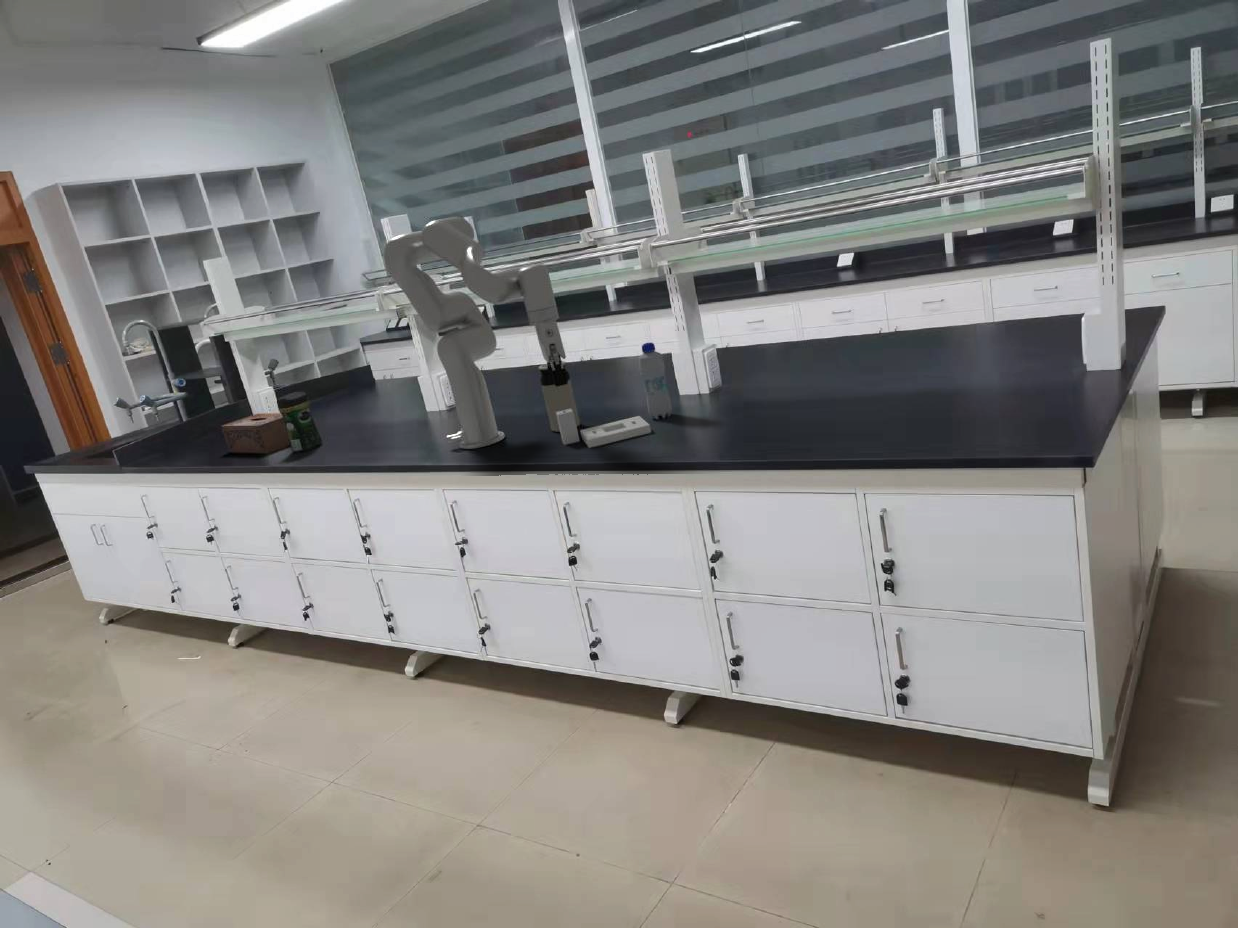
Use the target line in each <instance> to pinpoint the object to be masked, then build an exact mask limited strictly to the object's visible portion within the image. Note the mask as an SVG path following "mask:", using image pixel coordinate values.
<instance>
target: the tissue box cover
mask: <svg viewBox="0 0 1238 928" xmlns="http://www.w3.org/2000/svg"><path fill="white" fill-rule="evenodd" d="M220 427H221V431H222V434H223V436H224V439H225V442H226V445H227V447H228V451H229V453H241V454H242V453H243V454H244V453H245V454H247V453H249V454H270V452H271V453H273V452H276V451H279V450H282V449H283V448H286V447H290V442H289V437H288V433H287V429H286V425H285V421H284V418H283V416H282V414H281V413H280V412H274V413H273V412H269V413H268V412H267V413H262V412H261V413H256V414H252V415H250V416H246V417H244V418H241V419H237V420H235V421H232V422H229V423H225V424H222V425H221V426H220ZM275 450H276V451H275Z"/></svg>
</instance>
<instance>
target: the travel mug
mask: <svg viewBox="0 0 1238 928" xmlns="http://www.w3.org/2000/svg"><path fill="white" fill-rule="evenodd" d="M562 364H563V367H564V369H565V373H566V377H567V381H568V384H566V385H562V386H558V387H556V386H555V383H554V381H551V380H550V377H549V372H548V368H547V366H548V365H547V363H545V364H541V365H540V366H538V368H537V369H538V370H539V371H540V377H539V381H540V385H541V389H542V393H543V397H544V403H545V407H546V412H547V415H548V419H549V424H550V428H551V431H552V432H556V433H560V429H559V424H558V420H557V415H556V412H558V411H562V410H567V409H572V411H573V413H574V418H575V422H576V427H579V426H580V425H581V423H580V418H579V413H578V407H577V405H576V400H575V396H574V395H575V394H574V391H573V386H572V381H571V377H570V376H571V375H570V373H569V371H568V370H567V369H566V361H565V360H562ZM549 366H550V365H549Z"/></svg>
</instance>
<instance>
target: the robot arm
mask: <svg viewBox="0 0 1238 928" xmlns="http://www.w3.org/2000/svg"><path fill="white" fill-rule="evenodd" d="M483 258H484V248H483V245H481V243H479V242H478V241H476V240H475V231H474V228H473V226H472V224H471V223H470V222H469V221H468V220H467V219H465V218H463V217H461V216H453V217H446V218H441V219H436V220H432V221H430V222H429V223H427V224H425V226H424V227H423V228H422V230H418V231H412V232H408V233H403V234H402V233H401V234H399V235H396V236H394V237H392V238H391V239H390V240H388V241H387V243H386V244H385V247H384V250H383V260H384V264H385V268H386V270H387V272H388V274H389V275H390V278H391V279H392V280H393V281H394V283H395V284H396V286H398V287H399V288H400V289H401V291H402V292H403V293H404V295H405V296H406V297H407V299H408V300H409V303H410V304H411V306H412V307H413V308H414V310H415V312H416V313H417V315H418V316H419V318H420V319H421V321H422V322H423V324H424V325H425V327H426V328H427V329H428V330H429V331H430V332H432V333H441V332H447V331H449V330H452V331H449V332H447V333H446V334H444V335H443V336H442V337H441V338H440V339H439V341H438V342H437V348H436V350H437V355H438V358H439V360H440V362H441V364H442V366H443V369H444V370H445V374H446V377H447V380H448V382H449V387H450V390H451V393H452V398H453V401H454V405H455V408H456V412H457V417H458V420H459V423H460V431H458V432H457V433H455V434H450V435H446V439H447V442H448V443H457V442H459V446H460V448H461V449H464V450H470V449H471V450H473V449H479V448H484V447H486V446H491V445H493V444H496V443H498V442H500V441H502V440H503V439H504V438H505V437H506V435H505V433H504V432H503V431H500V430H498V427H497V423H496V419H495V414H494V410H493V407H492V403H491V398H490V393H489V391H488V386H487V383H486V379H485V376H484V374H483V372H482V371H481V369H480V368H479V367H478V366H477V365H476V363H475V362H477V361H479V360H482V359H485V358H487V357H489V356H491V355H492V354H494V353H495V351H496V349H497V343H498V342H497V337H496V334H495V332H494V330H493V329H492V326H491V325H490V324H489V322H488V321H487V318H485V315H484V314H483V313H482V311H481V310H480V308H479V307H478V305H477V304H476V302H475V301H474V299H473V298H472V297H471V296H469V295H468V294H466V293H465V292H464V291H463V292H462V291H451V292H447V293H444V292H443V291H441V289H440V287H438V285H437V283H436V282H435V279H433V278H432V277H431V276H430V274H428V273H426V272H425V271H423V270H422V269H420V268H419V267H418V265H421V264H422V265H423V264H426V263H430V262H435V261H438V260H439V261H440V260H443V261H445V262H446V263H448V264H449V265H451V266H452V267H454V268H455V269H457V270H458V271H460V275H461V278H462V280H463V282H464V284H465V286H466V287H467V289H468V290H469V291H470V292H471V293H473V294H474V295H475V296H477V297H479V298H481V299H482V300H483V301H485V302H487V303H489V304H492V305H501V304H505V303H508V302H511V301H515V300H519V299H523V303H524V306H525V310H526V315H527V319H528V324H529V326H534V329H535V333H536V336H537V340H538V343H539V347H540V350H541V354H542V356H543V359H544V360H545V361H546V364H547V365H548V366H547V368H548V372H549V377H550V380H551V381H554V383H555V386H556V387H558V386H562V385H566V384H568V381H567V377H566V373H565V369H566V368H565V369H564V367H563V364H562V361H563V360H565V359H566V358H567V356H566V353H565V348H564V344H563V340H562V337H561V333H560V329H559V326H558V323H557V321H556V320H558V319H560V316H559V312H558V306H557V303H556V298H555V294H554V290H553V286H552V282H551V277H550V274H549V269H548V267H547V266H546V265H545V264H542V263H539V264H534V265H530V266H529V265H528V266H526V267H521V266H519V267H514V268H509V269H505V270H501V271H498V272H491V271H490V270H489V271H488V269H485V268H484V267H483V266H481V263H482V262H483V261H482V260H483ZM455 328H458V329H455ZM454 329H455V330H454ZM562 359H563V360H562ZM549 365H550V366H549Z"/></svg>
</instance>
